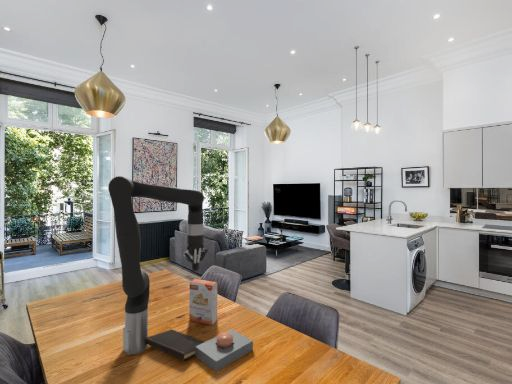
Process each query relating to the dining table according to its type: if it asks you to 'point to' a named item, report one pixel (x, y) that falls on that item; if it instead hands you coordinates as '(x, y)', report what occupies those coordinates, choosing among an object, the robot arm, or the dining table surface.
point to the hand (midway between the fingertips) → (195, 270)
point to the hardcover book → (175, 343)
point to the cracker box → (203, 301)
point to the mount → (223, 351)
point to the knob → (224, 340)
